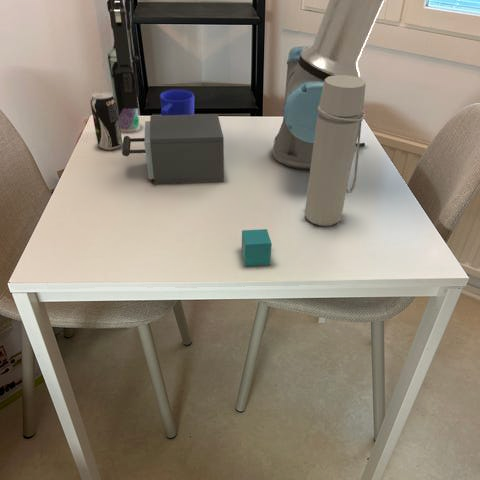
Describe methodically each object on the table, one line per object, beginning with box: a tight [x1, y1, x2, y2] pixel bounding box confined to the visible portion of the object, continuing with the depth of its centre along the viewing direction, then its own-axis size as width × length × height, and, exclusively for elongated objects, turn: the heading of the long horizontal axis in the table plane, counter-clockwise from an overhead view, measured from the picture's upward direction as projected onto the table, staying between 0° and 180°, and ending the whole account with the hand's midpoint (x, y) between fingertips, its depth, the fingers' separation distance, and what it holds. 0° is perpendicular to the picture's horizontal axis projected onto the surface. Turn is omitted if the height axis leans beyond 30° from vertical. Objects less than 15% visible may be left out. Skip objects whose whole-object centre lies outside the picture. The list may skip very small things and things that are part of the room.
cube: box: [240, 228, 272, 267], centre depth 82 cm, size 4×4×4 cm
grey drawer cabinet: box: [149, 113, 225, 185], centre depth 104 cm, size 15×13×10 cm
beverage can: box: [90, 90, 123, 151], centre depth 111 cm, size 6×6×12 cm
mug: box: [159, 89, 195, 115], centre depth 116 cm, size 8×12×10 cm
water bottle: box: [304, 75, 367, 227], centre depth 85 cm, size 9×8×25 cm
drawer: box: [121, 120, 154, 180], centre depth 104 cm, size 19×12×8 cm, turn 97°
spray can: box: [107, 42, 141, 133], centre depth 117 cm, size 6×6×20 cm
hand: (131, 102), depth 96 cm, fingers open, 6 cm apart
